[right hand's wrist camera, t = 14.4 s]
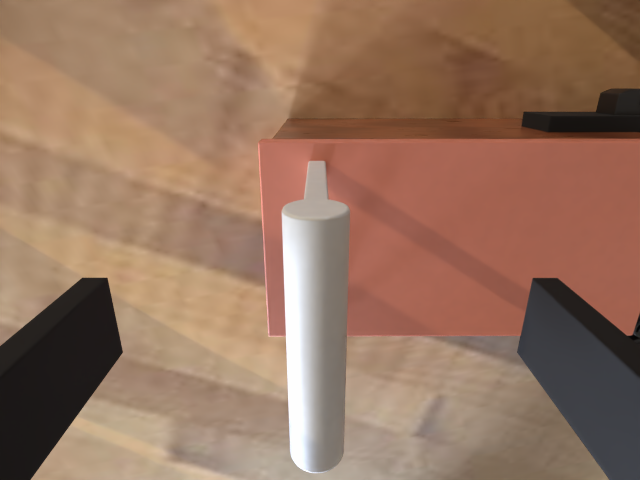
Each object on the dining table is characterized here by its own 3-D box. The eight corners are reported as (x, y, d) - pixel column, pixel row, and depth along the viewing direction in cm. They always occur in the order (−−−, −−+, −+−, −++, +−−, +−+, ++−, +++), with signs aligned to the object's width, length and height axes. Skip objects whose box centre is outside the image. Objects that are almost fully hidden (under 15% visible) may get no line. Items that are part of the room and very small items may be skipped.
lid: (270, 326, 21) (238, 489, 12) (260, 138, 17) (208, 192, 9) (620, 325, 21) (818, 487, 12) (677, 138, 17) (1000, 191, 9)
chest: (291, 251, 29) (279, 325, 21) (287, 118, 26) (271, 138, 17) (529, 251, 30) (619, 324, 21) (555, 118, 26) (676, 138, 17)
